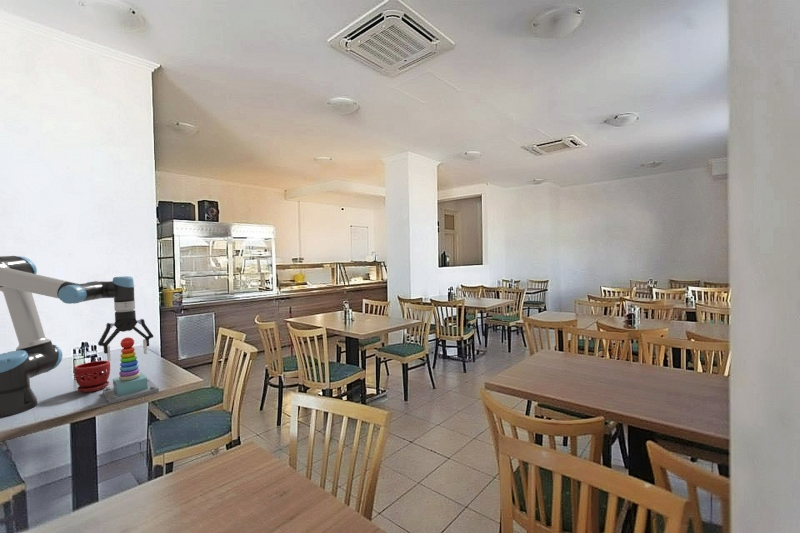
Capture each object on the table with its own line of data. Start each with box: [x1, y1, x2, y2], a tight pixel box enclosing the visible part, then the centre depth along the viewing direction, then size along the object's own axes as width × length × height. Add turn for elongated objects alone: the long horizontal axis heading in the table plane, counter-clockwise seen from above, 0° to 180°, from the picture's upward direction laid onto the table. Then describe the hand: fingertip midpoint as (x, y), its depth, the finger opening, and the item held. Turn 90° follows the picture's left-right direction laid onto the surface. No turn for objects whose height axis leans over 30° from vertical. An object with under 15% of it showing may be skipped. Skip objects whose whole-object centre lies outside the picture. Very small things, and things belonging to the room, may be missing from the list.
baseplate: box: [102, 372, 160, 405], centre depth 170 cm, size 18×18×6 cm
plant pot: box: [73, 360, 111, 393], centre depth 177 cm, size 13×13×12 cm
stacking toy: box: [118, 336, 141, 381], centre depth 170 cm, size 8×8×19 cm
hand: (127, 356), depth 170 cm, fingers open, 13 cm apart
